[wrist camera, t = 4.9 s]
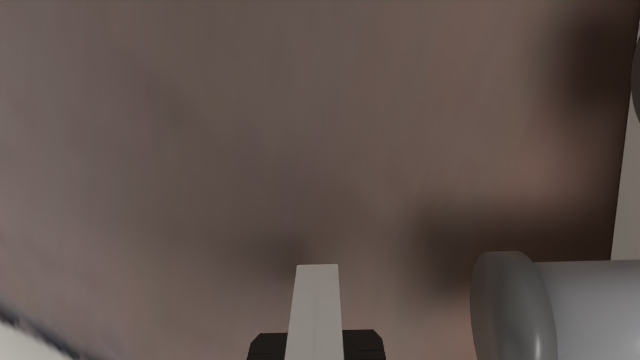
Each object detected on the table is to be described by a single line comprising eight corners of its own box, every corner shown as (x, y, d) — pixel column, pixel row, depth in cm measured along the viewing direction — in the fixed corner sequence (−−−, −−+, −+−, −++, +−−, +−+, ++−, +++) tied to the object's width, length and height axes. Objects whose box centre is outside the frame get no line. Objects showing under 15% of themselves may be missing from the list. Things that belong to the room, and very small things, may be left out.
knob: (473, 230, 17) (526, 293, 13) (725, 223, 17) (872, 284, 13) (467, 348, 19) (515, 445, 14) (703, 342, 18) (831, 438, 14)
